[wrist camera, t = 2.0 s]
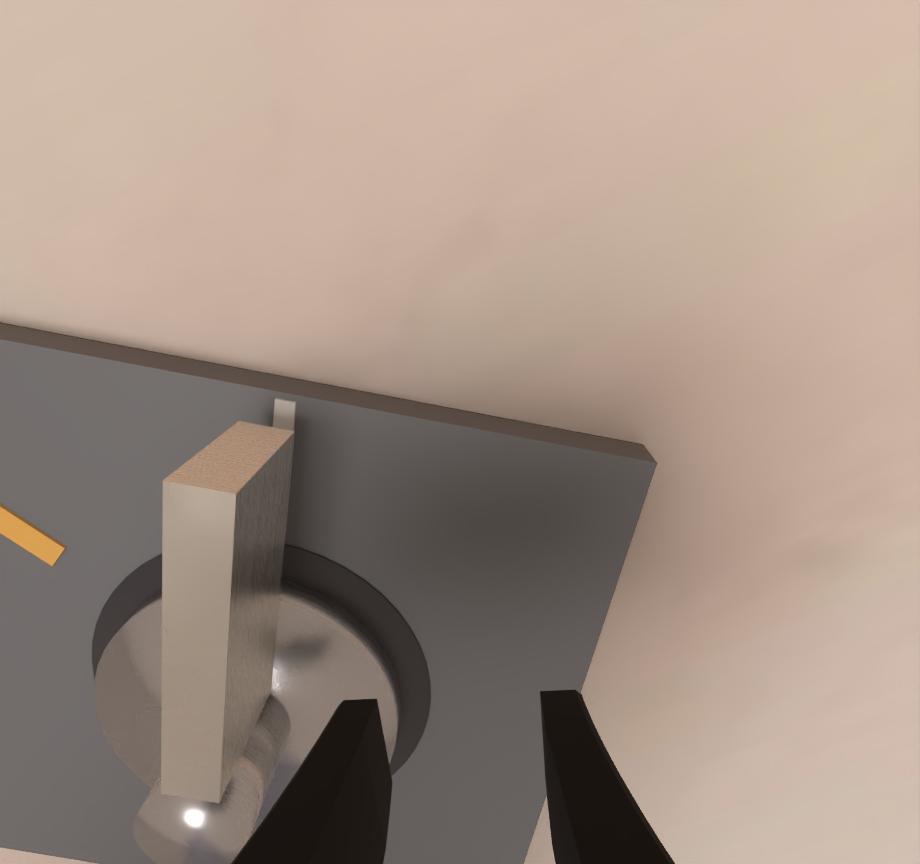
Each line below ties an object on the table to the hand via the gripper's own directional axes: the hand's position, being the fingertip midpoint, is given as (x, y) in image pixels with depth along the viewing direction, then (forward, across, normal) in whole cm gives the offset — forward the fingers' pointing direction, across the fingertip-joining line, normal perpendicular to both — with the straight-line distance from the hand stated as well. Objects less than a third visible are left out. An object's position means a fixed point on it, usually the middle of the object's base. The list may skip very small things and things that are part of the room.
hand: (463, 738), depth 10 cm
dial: (+7, +7, +3) cm, 11 cm away
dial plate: (+9, +8, +6) cm, 14 cm away
